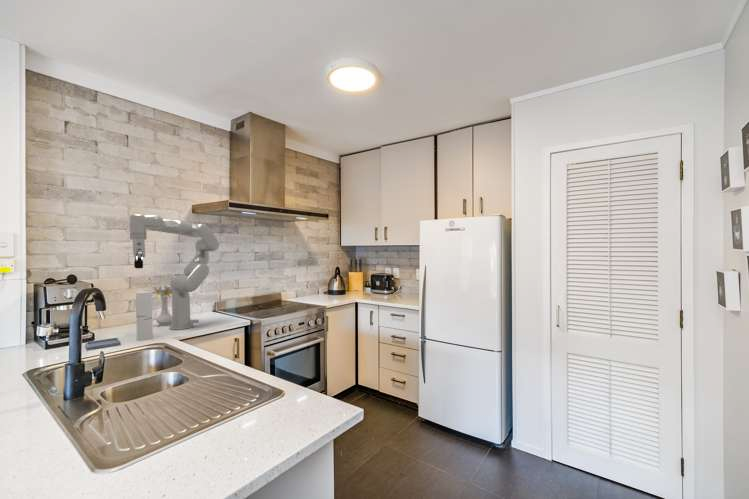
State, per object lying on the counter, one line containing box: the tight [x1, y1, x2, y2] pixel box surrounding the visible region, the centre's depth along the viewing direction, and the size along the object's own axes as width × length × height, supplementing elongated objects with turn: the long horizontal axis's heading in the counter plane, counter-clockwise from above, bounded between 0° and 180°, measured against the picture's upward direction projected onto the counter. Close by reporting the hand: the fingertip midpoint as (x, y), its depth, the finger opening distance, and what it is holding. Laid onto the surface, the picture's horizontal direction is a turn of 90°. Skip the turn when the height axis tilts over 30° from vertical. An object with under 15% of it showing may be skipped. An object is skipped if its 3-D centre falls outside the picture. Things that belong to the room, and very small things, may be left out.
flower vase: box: [145, 285, 172, 327], centre depth 216 cm, size 13×18×25 cm
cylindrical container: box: [135, 290, 154, 341], centre depth 182 cm, size 7×7×25 cm
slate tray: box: [85, 337, 122, 351], centre depth 170 cm, size 13×13×2 cm
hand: (138, 268), depth 186 cm, fingers open, 9 cm apart
